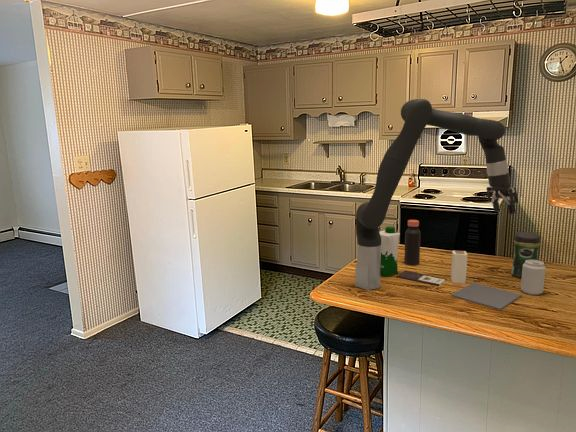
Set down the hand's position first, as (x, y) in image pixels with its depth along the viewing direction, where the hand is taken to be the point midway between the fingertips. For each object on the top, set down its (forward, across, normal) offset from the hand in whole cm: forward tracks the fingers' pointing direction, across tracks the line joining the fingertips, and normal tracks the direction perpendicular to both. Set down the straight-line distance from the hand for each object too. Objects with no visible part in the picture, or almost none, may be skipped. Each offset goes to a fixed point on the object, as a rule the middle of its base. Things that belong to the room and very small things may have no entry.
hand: (504, 212), depth 173 cm
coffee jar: (+30, -4, +7) cm, 31 cm away
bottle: (+20, -32, -28) cm, 47 cm away
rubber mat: (+25, +12, -22) cm, 35 cm away
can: (+29, +12, -4) cm, 32 cm away
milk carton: (+17, -22, -45) cm, 53 cm away
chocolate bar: (+21, -12, -35) cm, 42 cm away
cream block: (+23, -5, -22) cm, 33 cm away
